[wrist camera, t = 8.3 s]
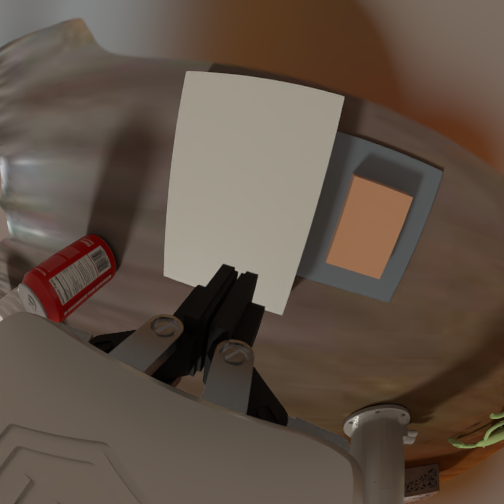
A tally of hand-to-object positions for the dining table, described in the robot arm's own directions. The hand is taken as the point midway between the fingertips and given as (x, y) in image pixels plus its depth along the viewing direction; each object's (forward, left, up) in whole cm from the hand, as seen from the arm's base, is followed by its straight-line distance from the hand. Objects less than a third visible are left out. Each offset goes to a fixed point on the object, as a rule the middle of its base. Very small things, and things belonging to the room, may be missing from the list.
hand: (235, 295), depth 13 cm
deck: (+4, 0, -17) cm, 18 cm away
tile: (-8, 0, -15) cm, 17 cm away
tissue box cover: (-52, +65, -18) cm, 85 cm away
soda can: (+25, +15, -17) cm, 34 cm away
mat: (-9, 0, -17) cm, 19 cm away
